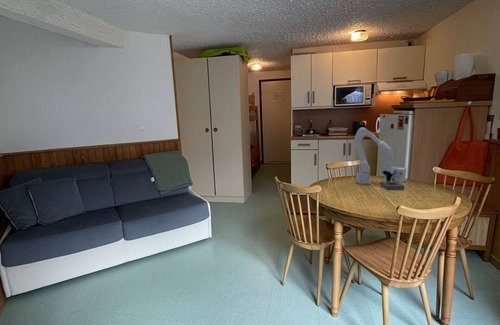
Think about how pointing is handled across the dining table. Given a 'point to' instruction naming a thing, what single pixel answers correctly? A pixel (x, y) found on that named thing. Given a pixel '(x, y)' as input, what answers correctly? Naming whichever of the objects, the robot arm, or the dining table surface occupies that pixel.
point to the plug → (385, 179)
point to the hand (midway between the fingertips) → (387, 180)
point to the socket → (392, 185)
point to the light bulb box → (399, 174)
